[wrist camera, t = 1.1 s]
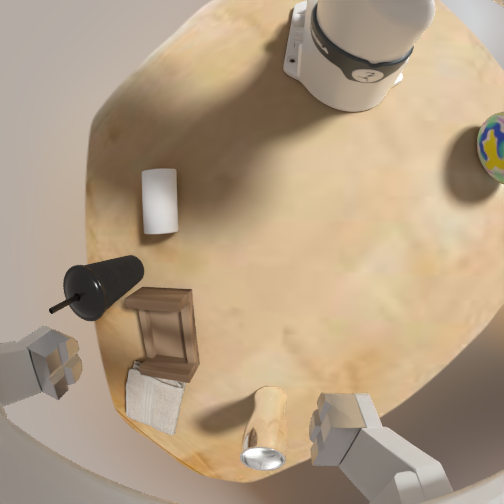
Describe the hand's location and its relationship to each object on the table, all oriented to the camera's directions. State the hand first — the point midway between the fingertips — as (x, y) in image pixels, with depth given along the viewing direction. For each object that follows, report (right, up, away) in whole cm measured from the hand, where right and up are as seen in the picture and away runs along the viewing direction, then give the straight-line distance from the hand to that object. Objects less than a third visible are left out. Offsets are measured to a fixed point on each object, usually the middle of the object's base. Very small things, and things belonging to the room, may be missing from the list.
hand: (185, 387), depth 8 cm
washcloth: (-18, -26, +43) cm, 53 cm away
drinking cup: (-18, +1, +37) cm, 41 cm away
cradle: (-12, -9, +38) cm, 41 cm away
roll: (-11, +12, +31) cm, 35 cm away
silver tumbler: (+5, -22, +39) cm, 45 cm away
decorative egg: (+44, +22, +25) cm, 55 cm away
